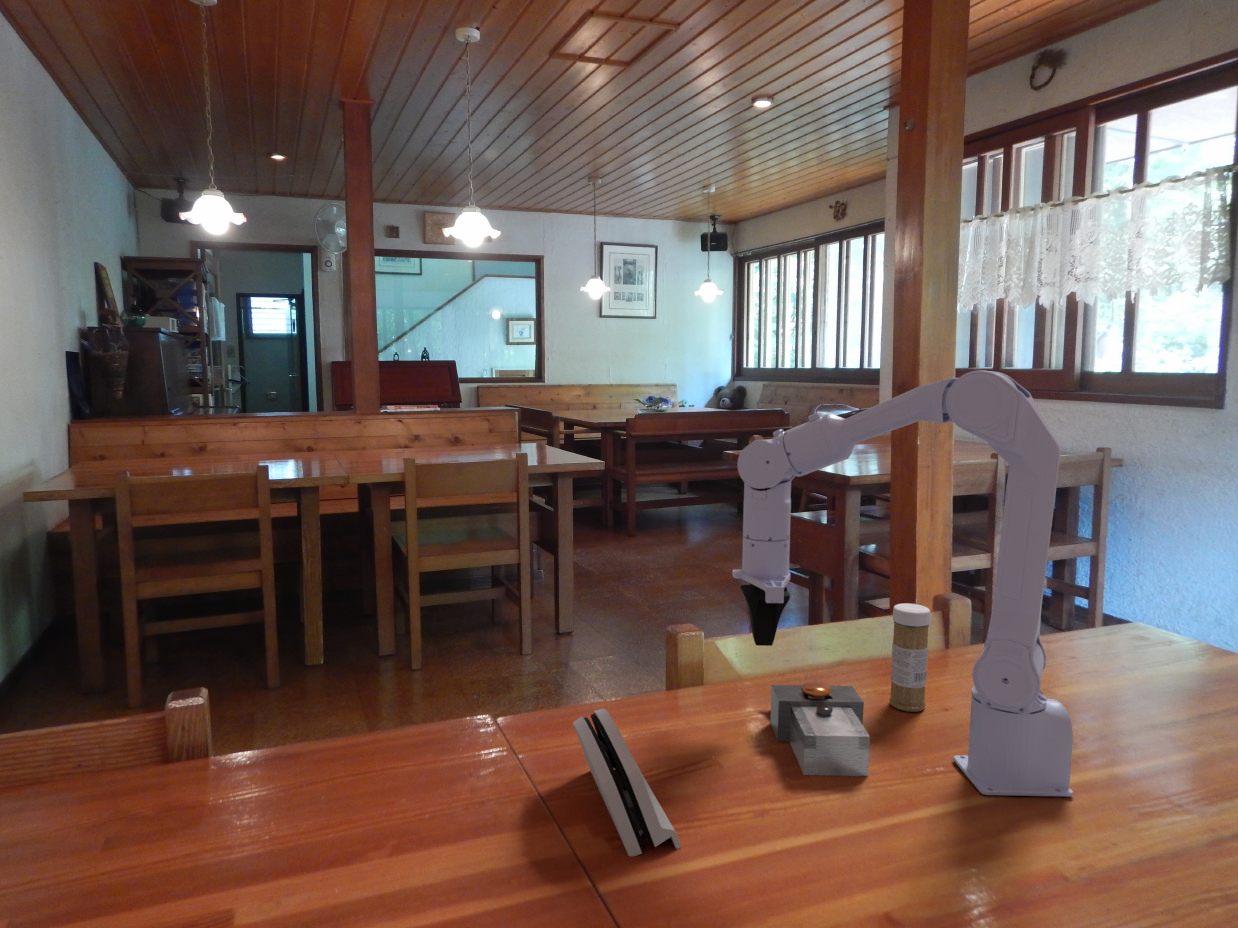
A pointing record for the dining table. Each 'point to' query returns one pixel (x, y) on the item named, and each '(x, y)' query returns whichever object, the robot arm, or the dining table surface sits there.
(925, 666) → the sprinkles bottle
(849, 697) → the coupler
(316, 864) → the dining table surface
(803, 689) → the pin
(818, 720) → the block
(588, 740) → the grey slotted block
